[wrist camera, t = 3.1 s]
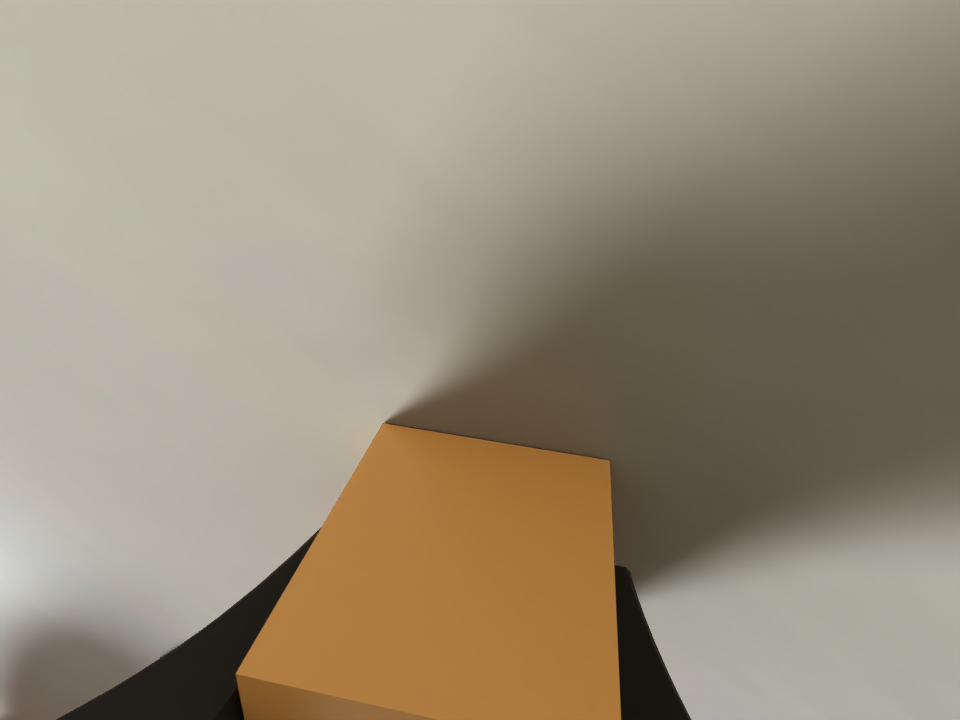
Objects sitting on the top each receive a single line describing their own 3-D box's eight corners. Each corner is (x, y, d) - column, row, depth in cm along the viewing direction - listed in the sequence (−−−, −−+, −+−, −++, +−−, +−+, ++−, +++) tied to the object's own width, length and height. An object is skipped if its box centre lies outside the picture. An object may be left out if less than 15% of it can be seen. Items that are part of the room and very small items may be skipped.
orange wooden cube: (609, 460, 12) (622, 760, 7) (574, 618, 14) (563, 933, 9) (382, 423, 13) (235, 674, 7) (383, 581, 15) (271, 857, 10)
